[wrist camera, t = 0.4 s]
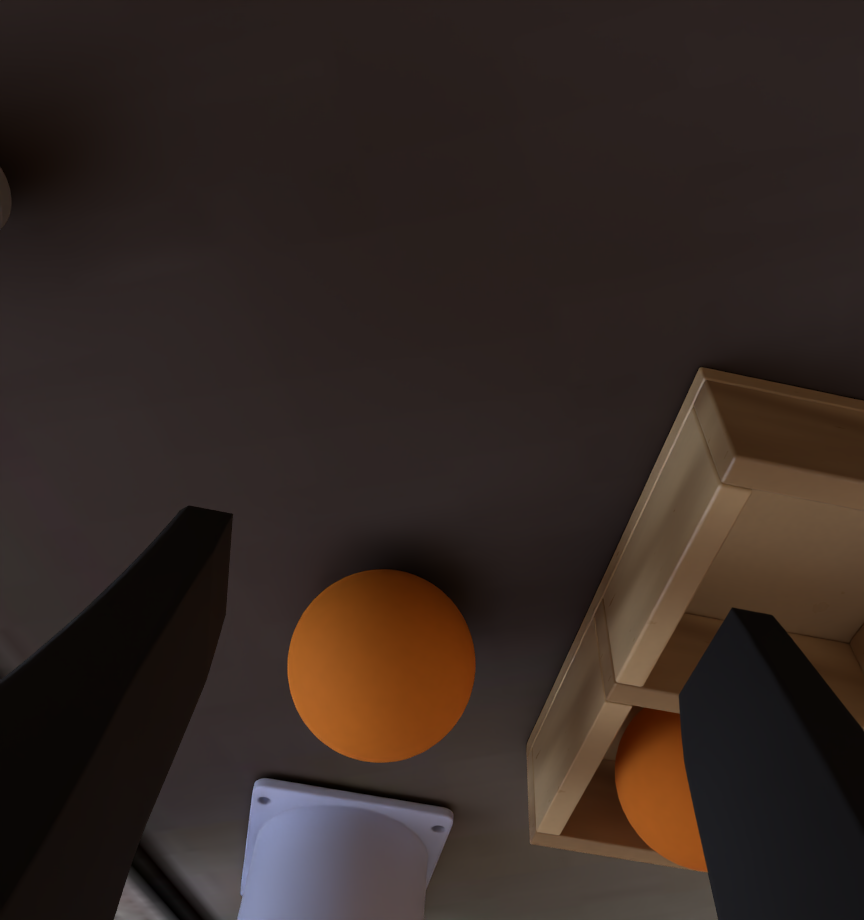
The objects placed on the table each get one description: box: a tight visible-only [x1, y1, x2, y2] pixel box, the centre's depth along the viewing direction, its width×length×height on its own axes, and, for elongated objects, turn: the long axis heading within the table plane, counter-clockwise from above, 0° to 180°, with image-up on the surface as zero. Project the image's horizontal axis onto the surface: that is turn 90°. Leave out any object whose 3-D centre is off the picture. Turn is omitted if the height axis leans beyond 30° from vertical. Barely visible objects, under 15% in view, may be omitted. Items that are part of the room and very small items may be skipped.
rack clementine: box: [615, 707, 708, 872], centre depth 25 cm, size 5×5×5 cm
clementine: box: [288, 569, 475, 763], centre depth 24 cm, size 5×5×5 cm
